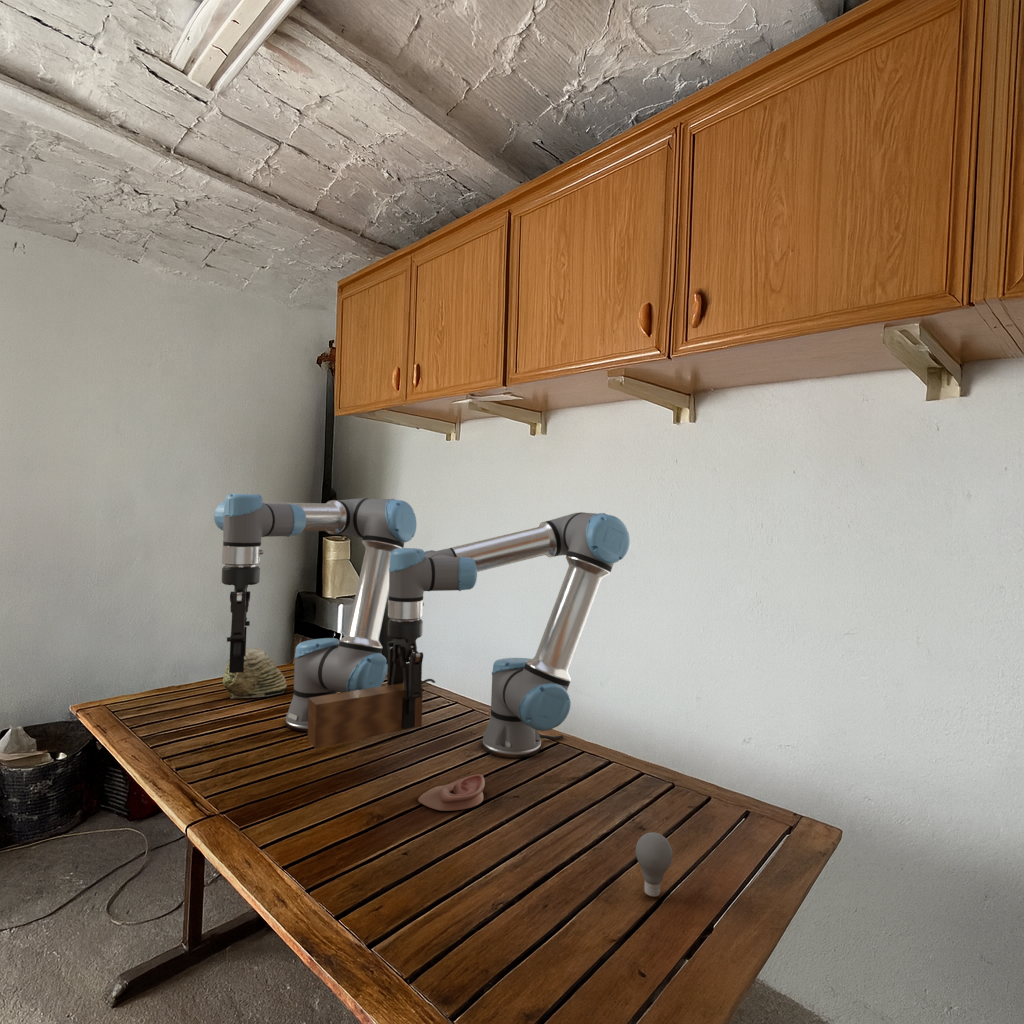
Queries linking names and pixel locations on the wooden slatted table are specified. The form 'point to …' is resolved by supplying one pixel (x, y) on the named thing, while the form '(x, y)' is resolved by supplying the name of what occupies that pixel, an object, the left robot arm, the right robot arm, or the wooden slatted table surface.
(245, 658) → the fossil
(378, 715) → the bar
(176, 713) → the wooden slatted table surface
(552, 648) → the right robot arm
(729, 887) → the wooden slatted table surface
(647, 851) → the light bulb
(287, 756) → the wooden slatted table surface
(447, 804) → the anatomical model
